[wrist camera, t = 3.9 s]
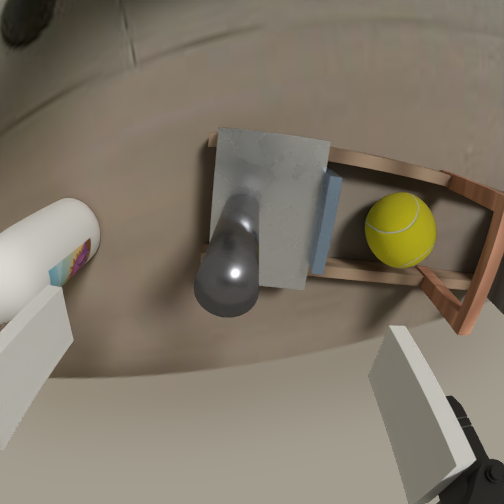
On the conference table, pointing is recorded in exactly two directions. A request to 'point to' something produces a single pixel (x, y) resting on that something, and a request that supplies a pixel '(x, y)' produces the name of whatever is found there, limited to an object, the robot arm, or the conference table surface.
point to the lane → (430, 280)
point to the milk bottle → (44, 252)
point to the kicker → (266, 217)
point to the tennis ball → (400, 230)
